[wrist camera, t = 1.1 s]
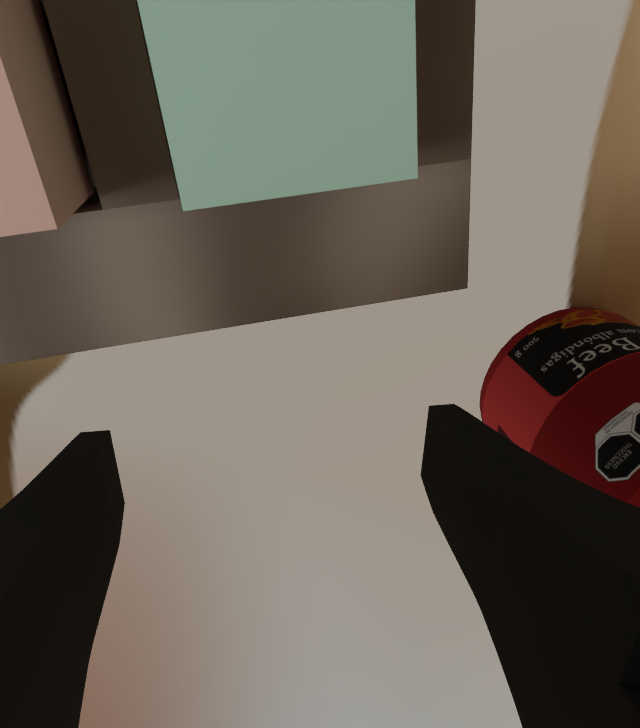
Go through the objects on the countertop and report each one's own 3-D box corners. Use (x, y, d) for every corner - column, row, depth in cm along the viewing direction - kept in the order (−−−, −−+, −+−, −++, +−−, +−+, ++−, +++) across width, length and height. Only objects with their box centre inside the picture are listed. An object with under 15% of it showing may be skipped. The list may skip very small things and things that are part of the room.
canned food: (659, 305, 24) (951, 456, 15) (596, 453, 28) (799, 653, 18) (500, 295, 23) (712, 457, 13) (455, 454, 26) (597, 673, 17)
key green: (189, 178, 15) (183, 211, 11) (141, -51, 12) (115, -101, 9) (370, 154, 15) (417, 178, 12) (358, -71, 13) (412, -125, 9)
